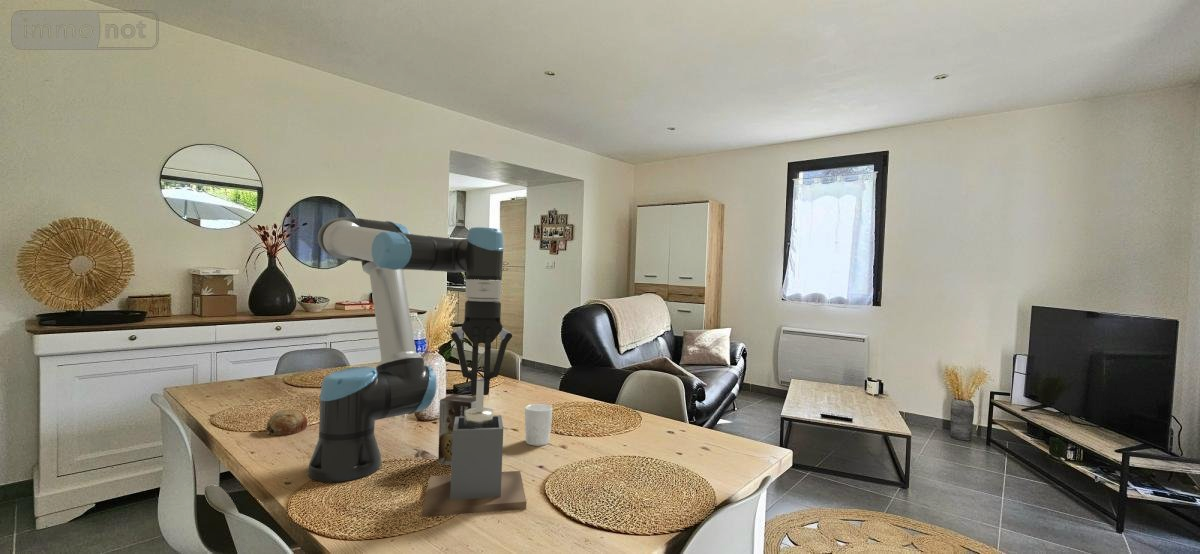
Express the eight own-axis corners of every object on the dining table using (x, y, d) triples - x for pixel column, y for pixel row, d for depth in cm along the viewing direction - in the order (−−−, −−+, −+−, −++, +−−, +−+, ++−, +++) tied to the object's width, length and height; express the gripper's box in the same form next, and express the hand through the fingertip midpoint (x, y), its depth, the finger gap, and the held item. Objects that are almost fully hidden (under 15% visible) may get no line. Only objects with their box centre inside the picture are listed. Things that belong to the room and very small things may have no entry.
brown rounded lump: (263, 444, 137) (252, 422, 134) (293, 420, 146) (283, 399, 143) (289, 448, 135) (279, 426, 131) (318, 424, 144) (309, 402, 140)
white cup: (549, 447, 133) (550, 411, 133) (521, 446, 133) (522, 410, 133) (552, 438, 141) (554, 404, 141) (526, 437, 141) (527, 403, 141)
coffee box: (482, 459, 122) (485, 396, 122) (469, 468, 116) (471, 402, 116) (451, 455, 124) (453, 393, 125) (436, 463, 118) (439, 398, 118)
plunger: (456, 491, 97) (459, 416, 97) (458, 476, 104) (461, 407, 105) (494, 488, 99) (497, 415, 99) (493, 474, 106) (496, 406, 106)
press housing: (450, 500, 95) (452, 430, 96) (452, 480, 105) (455, 416, 105) (500, 496, 98) (503, 428, 98) (498, 477, 108) (501, 415, 108)
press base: (421, 517, 91) (421, 509, 91) (429, 482, 107) (430, 476, 107) (526, 509, 96) (526, 501, 96) (519, 477, 112) (520, 470, 112)
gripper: (450, 299, 97) (446, 416, 96) (515, 301, 100) (511, 413, 100) (452, 298, 104) (448, 406, 104) (512, 300, 107) (509, 404, 107)
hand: (479, 410), depth 102 cm, fingers closed
